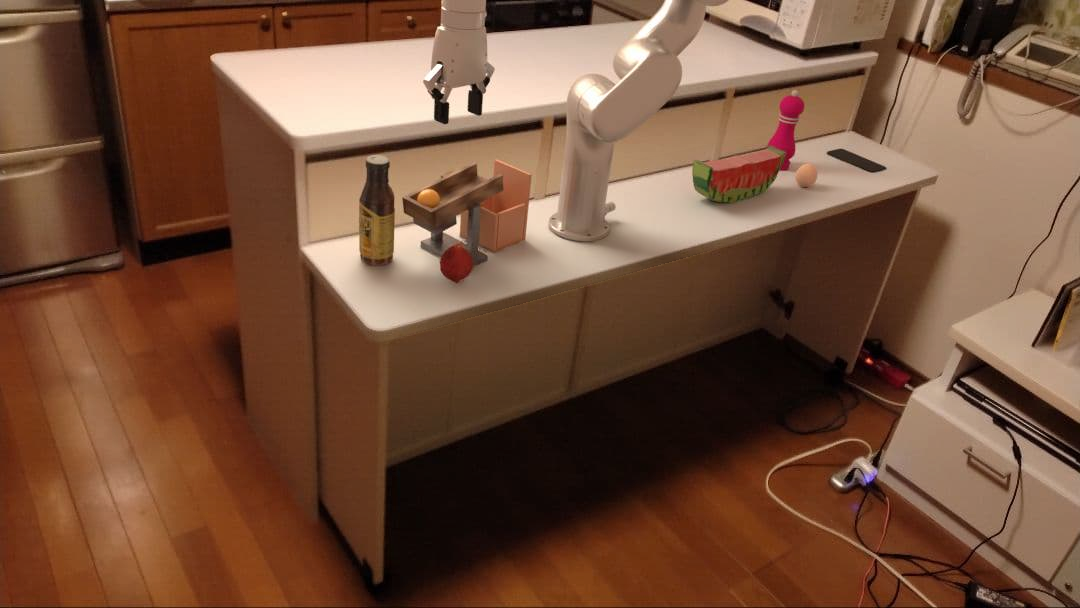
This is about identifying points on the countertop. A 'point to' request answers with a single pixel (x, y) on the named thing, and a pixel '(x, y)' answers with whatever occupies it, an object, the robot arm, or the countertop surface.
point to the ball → (429, 198)
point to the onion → (456, 263)
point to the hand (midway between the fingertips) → (458, 117)
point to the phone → (856, 160)
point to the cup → (503, 211)
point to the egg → (806, 175)
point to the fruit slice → (737, 175)
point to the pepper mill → (787, 126)
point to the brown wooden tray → (451, 197)
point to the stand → (445, 241)
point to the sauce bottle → (376, 214)
